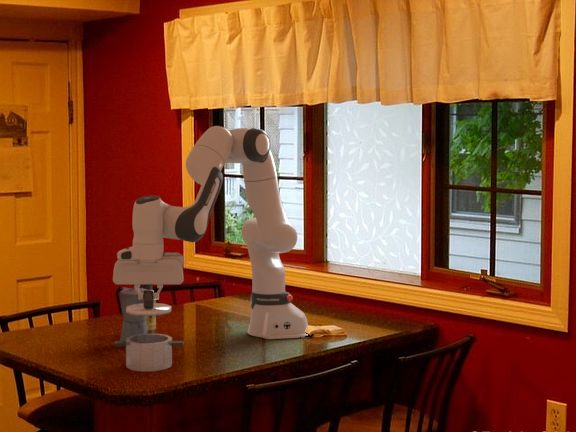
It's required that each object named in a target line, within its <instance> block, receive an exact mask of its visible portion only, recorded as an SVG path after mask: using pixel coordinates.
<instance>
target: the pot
mask: <svg viewBox="0 0 576 432" xmlns="http://www.w3.org/2000/svg"><path fill="white" fill-rule="evenodd" d="M184 344H185V341H184V340H173V337H172V336H170V335H168V334H163V333H162V334H161V333H154V334H139V335H133V336H130V337H127V339H126V341H120V340H119V341H118V340H116V341H114V343H113V347H114V348H115V347H117V348H118V347H120V348H121V347H123V348H124V347H125V362H126V363H125V366H126V368H127V369H129V370H131V371H135V372H158V371H164V370H167V369H170V368H171V367H172V365H173V347H184Z"/></svg>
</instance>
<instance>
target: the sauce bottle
mask: <svg viewBox="0 0 576 432" xmlns="http://www.w3.org/2000/svg"><path fill="white" fill-rule="evenodd" d="M140 288H143V289H147V290H154V289H153V284H140ZM154 303H157V300H154ZM145 321H146V328H147V334H156V329H157V316H146V320H145Z"/></svg>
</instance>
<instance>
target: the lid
mask: <svg viewBox="0 0 576 432" xmlns="http://www.w3.org/2000/svg"><path fill="white" fill-rule="evenodd" d="M154 293H155V290H154V289H153V290H143V303H141V304H134V305H130V306H127V307H126V313H127V314H130V315H136V316H156V317H157V316H163V315H167V314H170V313H171V312H172V306H171V305H169V304H167V303H158V302H156V303H154V299H153V298H154V296H153V294H154Z"/></svg>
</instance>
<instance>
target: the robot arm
mask: <svg viewBox="0 0 576 432" xmlns="http://www.w3.org/2000/svg"><path fill="white" fill-rule="evenodd" d="M227 163H228V164H229V163H230V164H241V165H242V172H243V174H242V175H243V180H244V181H243V183H244V189H245V196H246V202H247V204H248V207H250V209H251V210H252V212H253V215H254V217H252V218H248V219H247V220H246V221H245V222H244V223H243V225H242V226H241V227H242V228H241V238H242V240H243V241H244V243H245V245H246V247H247V252H248V257H249V260H250V265H251V277H252V278H251V281H252V282H251V283H252V288H251V289H252V291H251V292H250V308H251V313H250V321H249V325H248V328H247V334H248V335H250V336H253V337H257V338H263V339H265V340H277V339H280V340H281V339H296V338H297V339H298V338H300V337H301V338H306V337H305V336H308V334H306V333H305V330H306V328H307V327H308V326H309V324H308V323H309V322H308V319H307V317H306V314H305V313H304V312H303V311H302V310H301V309H300V308H298V307H296V305H294V304H293V303H292V301H293V299H294V298H293V295H292V294H291V293H289V292H288V291H286V268H285V265H283V262H282V260H281V258H280V254H284V253H288V252H291V250H293V249H294V248H295V247H296V244H297V242H298V234H297V233H298V232H297V229H296V228H295V227H294V226H293V225H292V224H291V222H290V219H289V218H288V215H287V212H286V210H285V208H284V205H283V202H282V199H281V198H282V197H281V194H280V187H279V180H278V174H277V169H276V165H275V160H274V157H273V154H272V151H271V140H270V138H269V136H268V134H267V132H266V131H265V130H264V129H260V128H255V127H251V128H249V127H248V128H247V127H246V128H245V127H243V128H241V127H239V128H238V127H237V128H234V129H227V128H225V127H223V126H220V125H214V126H210V127H209V128H208V129H206V130H205V131H204V132H203V134H202V135H201V136H200V137H199V139H198V140H197V141H196V143H195V144H194V146H193V147H192V148H191V150H190V152H189V153H188V155H187V157H186V160H185V169H186V172H187V174H188V175H189V177H190V178H191V179H192V180H193V181H194V182H196V184H198V185H200V188H199V191H198V193H197V195H196V198H195V200H194V202H193V203H192V204H191V205H189V206H185V207H184V206H175V205H171V204H168V203H166V202H164V201H163V200H162V198H161V197H160V196H157V195H145V196H141V197H139V198H137V199H136V200H135V202H134V204H133V208H132V231H133V239H132V246H128V247H126V248H123V249H121V250H119V251H117V253H116V258H117V261H116V262H115V263H114V267H113V271H112V272H113V273H112V274H113V275H112V282H113V283H114V284H115V285H133V284H134V287H133V288H134V289H135V290H136V292H137V294H138V300H143V293H141V292H140V290H139V288H141V284H152V285H156V286H157V287H156V288H157V292H154V294H153V296H154V298H153V299H154V300H156V301H157V300H159V298H160V293H161V291H162V289H163V287H164V285H181V284H183V282H184V270H183V267H184V266H185V257H184V255H183V254H181V253H179V252H177V251H175V252H170V251H169V252H168V251H167V252H166V251H164V238H165V239H171V240H179V241H180V240H181V241H183V242H189V243H197V242H198V241H200V240H201V239H202V238H203V237H204V235H205V234H206V232H207V230H208V226H209V221H210V218H211V214H212V211H213V210H214V207H215V204H216V202H217V200H218V196H219V194H220V191H221V188H222V185H223V181H224V175H223V172H222V169H223V167H224V166H225V164H227Z"/></svg>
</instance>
